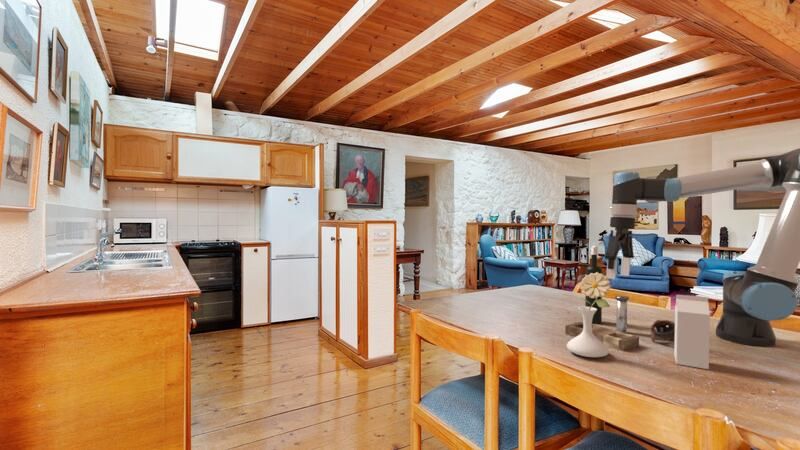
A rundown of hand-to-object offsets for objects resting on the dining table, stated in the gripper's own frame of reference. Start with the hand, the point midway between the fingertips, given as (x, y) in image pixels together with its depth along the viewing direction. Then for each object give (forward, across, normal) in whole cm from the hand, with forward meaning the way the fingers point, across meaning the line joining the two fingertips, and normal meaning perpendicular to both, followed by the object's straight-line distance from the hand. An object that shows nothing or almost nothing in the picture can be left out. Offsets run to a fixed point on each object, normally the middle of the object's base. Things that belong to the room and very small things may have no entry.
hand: (617, 277), depth 134 cm
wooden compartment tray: (+20, +11, 0) cm, 23 cm away
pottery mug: (+20, -4, +15) cm, 25 cm away
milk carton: (+19, +13, +25) cm, 34 cm away
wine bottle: (+21, -10, -11) cm, 26 cm away
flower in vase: (+21, +28, +3) cm, 35 cm away
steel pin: (+20, -4, +1) cm, 20 cm away
